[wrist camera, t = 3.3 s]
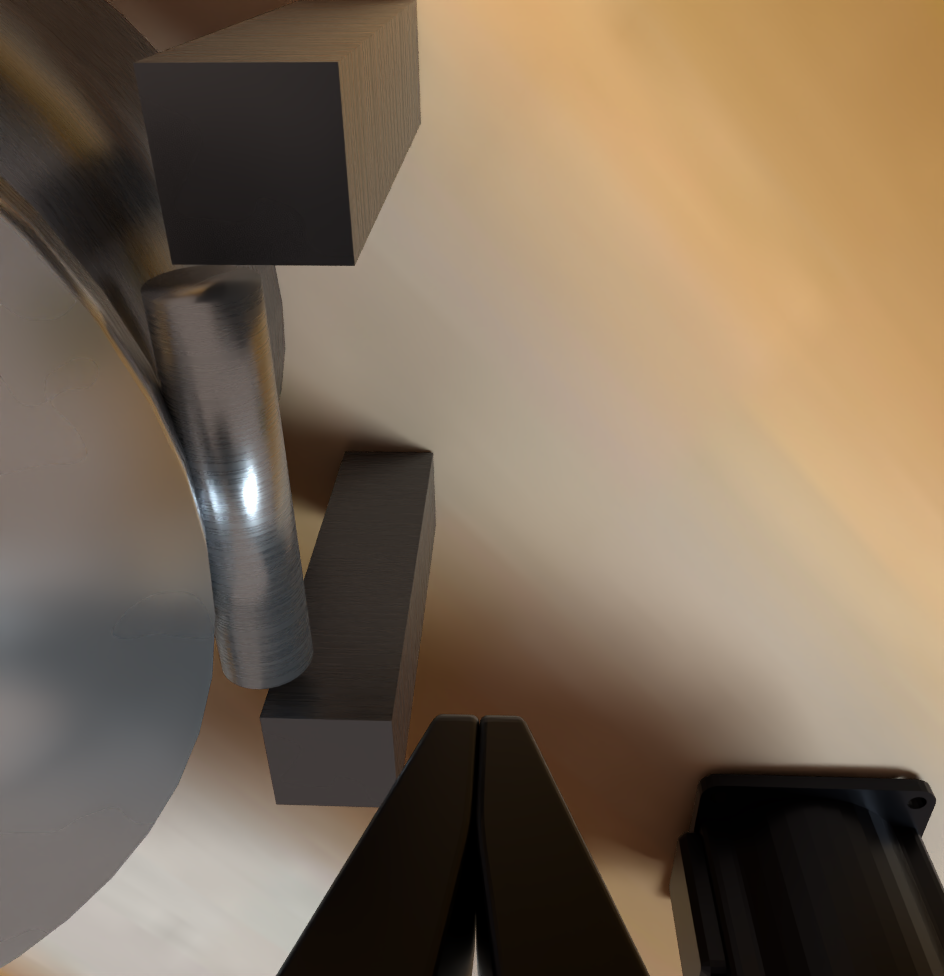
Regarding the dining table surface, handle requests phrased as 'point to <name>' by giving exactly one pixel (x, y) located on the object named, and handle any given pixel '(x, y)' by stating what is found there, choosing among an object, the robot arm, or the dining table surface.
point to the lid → (126, 554)
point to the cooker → (260, 246)
